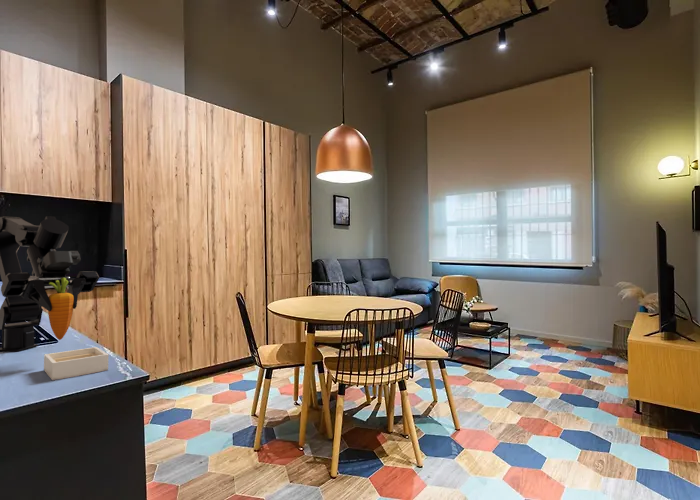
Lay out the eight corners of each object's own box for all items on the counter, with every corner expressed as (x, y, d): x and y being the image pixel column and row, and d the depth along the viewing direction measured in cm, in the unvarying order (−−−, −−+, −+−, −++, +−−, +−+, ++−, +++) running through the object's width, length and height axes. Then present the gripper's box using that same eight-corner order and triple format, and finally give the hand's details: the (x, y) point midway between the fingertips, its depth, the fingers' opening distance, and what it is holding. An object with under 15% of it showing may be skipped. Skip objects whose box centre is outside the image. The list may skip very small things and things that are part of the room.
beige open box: (43, 370, 86) (44, 354, 86) (96, 361, 93) (96, 347, 94) (52, 380, 79) (52, 363, 79) (108, 370, 87) (108, 354, 87)
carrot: (58, 342, 88) (60, 278, 89) (41, 341, 89) (43, 278, 90) (77, 338, 93) (79, 277, 93) (61, 337, 94) (62, 277, 94)
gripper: (7, 237, 86) (24, 289, 80) (96, 241, 102) (116, 284, 96) (-6, 271, 90) (9, 322, 84) (82, 269, 106) (100, 312, 100)
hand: (63, 308), depth 91 cm, fingers closed on carrot, 5 cm apart
